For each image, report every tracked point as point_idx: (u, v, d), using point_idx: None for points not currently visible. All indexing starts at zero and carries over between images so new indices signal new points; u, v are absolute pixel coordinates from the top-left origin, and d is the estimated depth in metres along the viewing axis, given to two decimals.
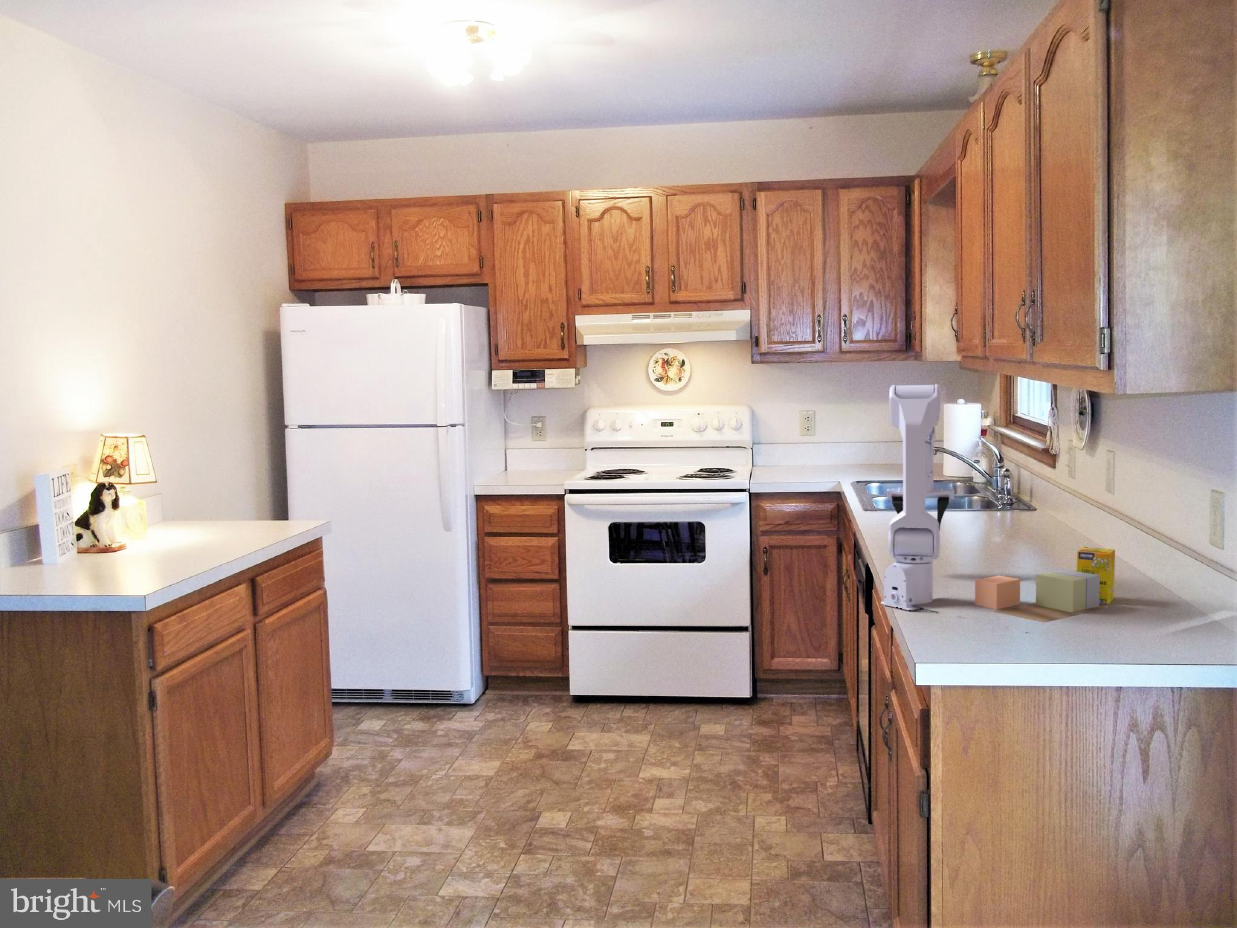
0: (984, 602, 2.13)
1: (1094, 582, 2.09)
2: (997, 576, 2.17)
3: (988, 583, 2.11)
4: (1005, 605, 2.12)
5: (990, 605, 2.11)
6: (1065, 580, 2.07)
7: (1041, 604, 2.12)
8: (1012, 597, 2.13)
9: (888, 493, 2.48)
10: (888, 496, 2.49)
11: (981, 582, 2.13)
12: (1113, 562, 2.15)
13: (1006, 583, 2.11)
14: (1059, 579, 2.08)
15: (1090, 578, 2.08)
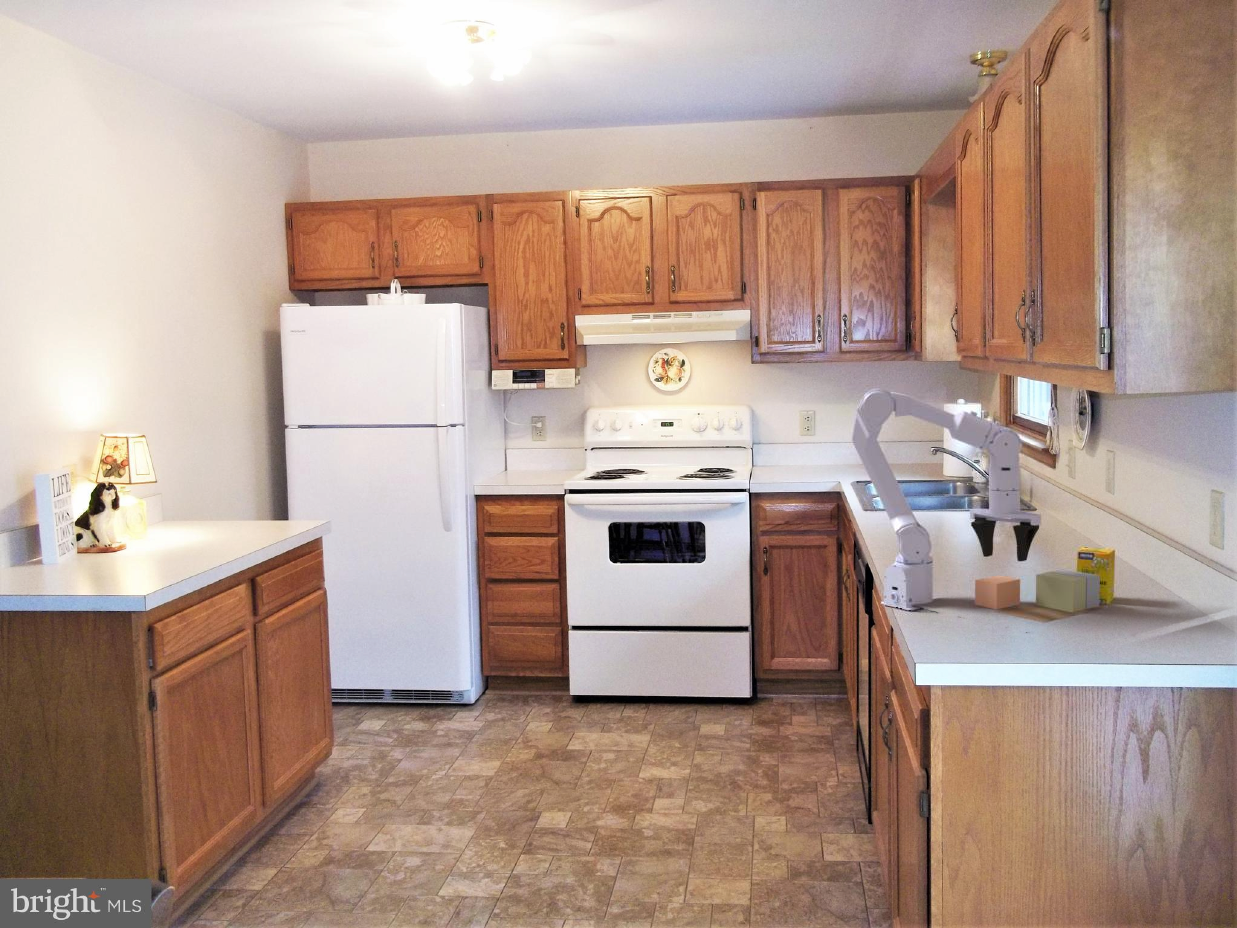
0: (984, 602, 2.13)
1: (1094, 582, 2.09)
2: (997, 576, 2.17)
3: (988, 583, 2.11)
4: (1005, 605, 2.12)
5: (990, 605, 2.11)
6: (1065, 580, 2.07)
7: (1041, 604, 2.12)
8: (1012, 597, 2.13)
9: (971, 512, 2.20)
10: (971, 516, 2.20)
11: (981, 582, 2.13)
12: (1113, 562, 2.15)
13: (1006, 583, 2.11)
14: (1059, 579, 2.08)
15: (1090, 578, 2.08)
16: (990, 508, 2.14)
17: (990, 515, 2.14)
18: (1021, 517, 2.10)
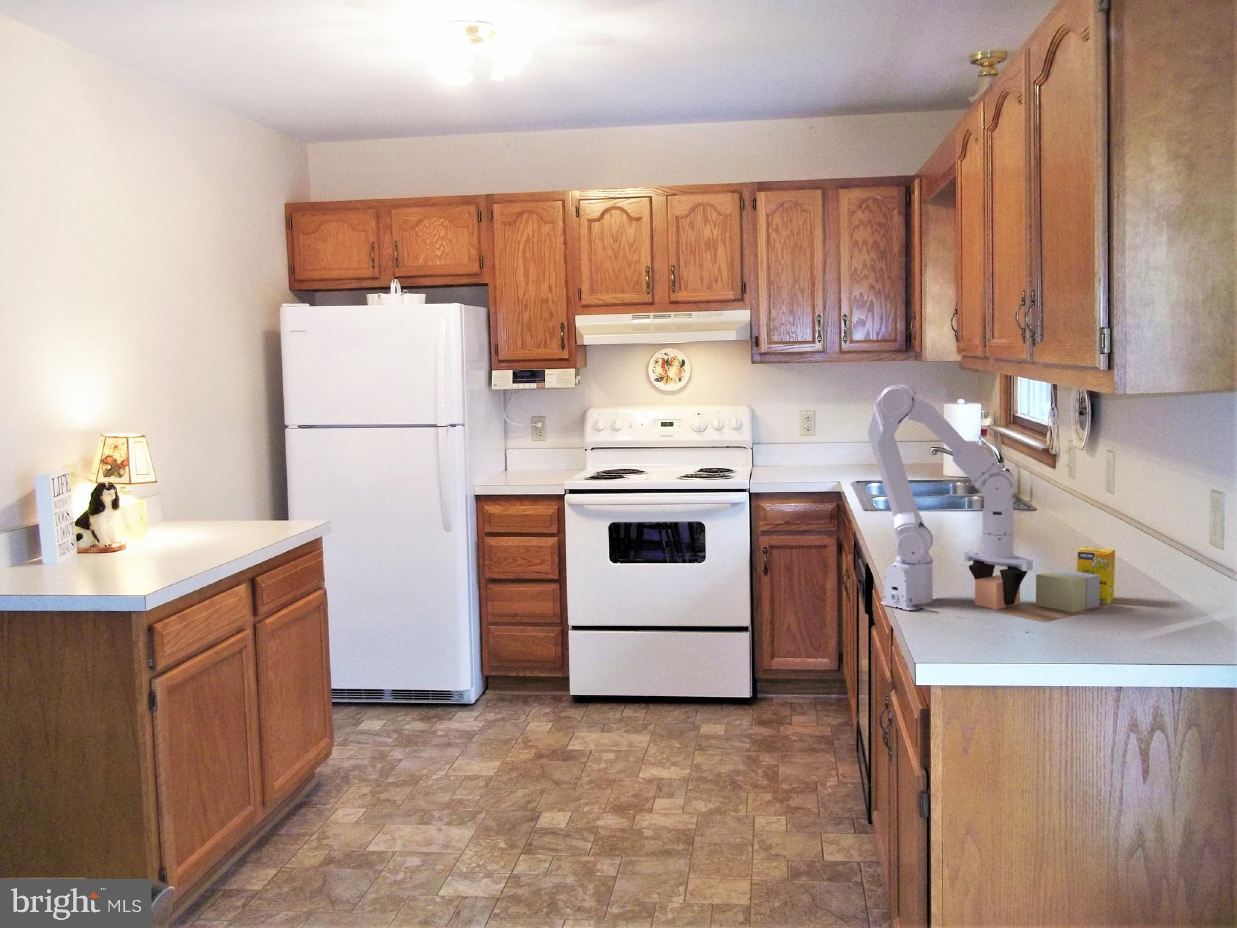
0: (984, 601, 2.13)
1: (1094, 582, 2.09)
2: (997, 575, 2.17)
3: (988, 582, 2.11)
4: None
5: (990, 605, 2.11)
6: (1065, 580, 2.07)
7: (1041, 604, 2.12)
8: None
9: (965, 554, 2.19)
10: (965, 558, 2.19)
11: (981, 582, 2.13)
12: (1113, 562, 2.15)
13: None
14: (1059, 579, 2.08)
15: (1090, 578, 2.08)
16: (983, 551, 2.13)
17: (983, 559, 2.13)
18: (1013, 562, 2.09)
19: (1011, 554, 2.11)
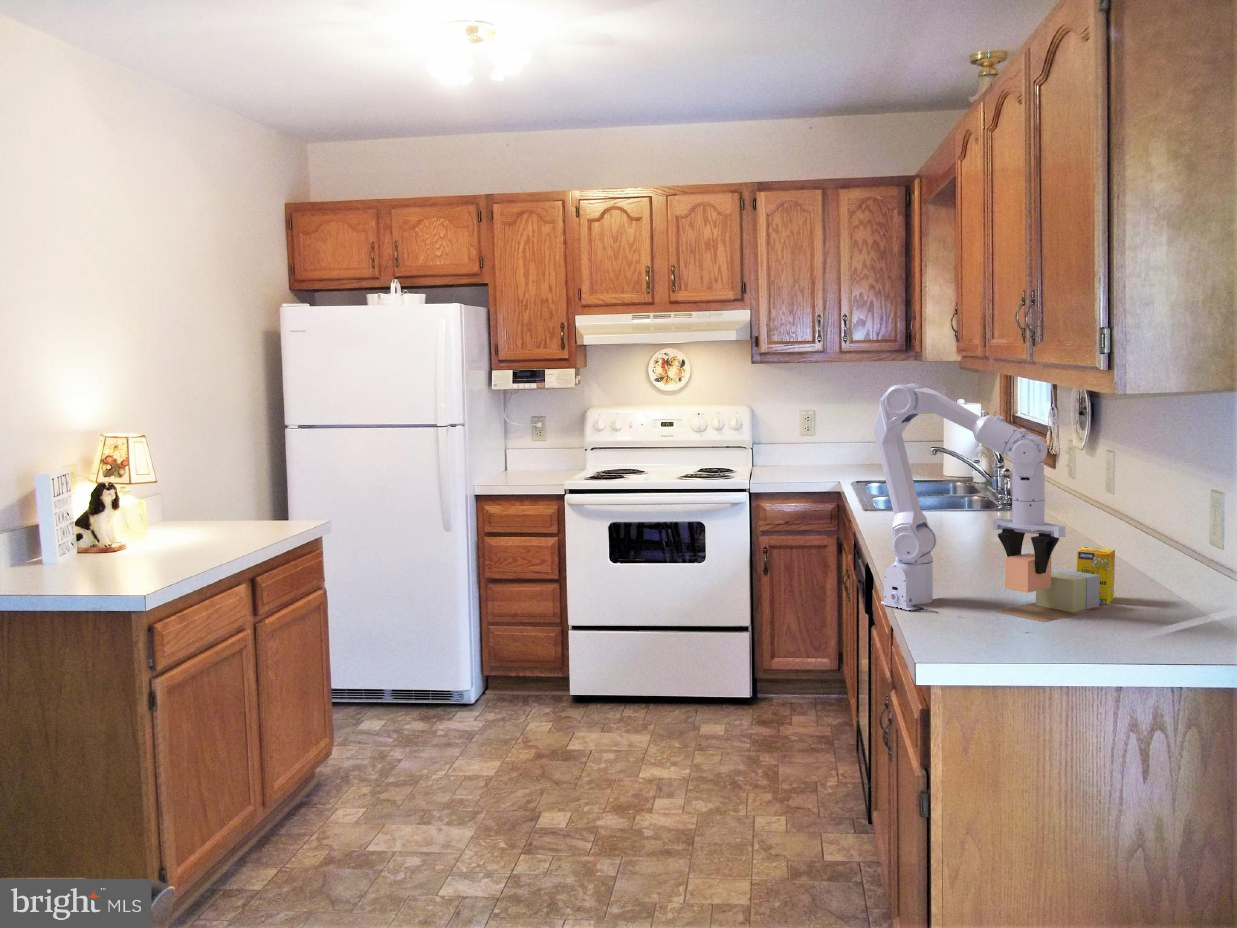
0: (1014, 580, 2.06)
1: (1094, 582, 2.09)
2: (1027, 554, 2.11)
3: (1019, 560, 2.05)
4: (1036, 583, 2.06)
5: (1021, 583, 2.05)
6: (1065, 580, 2.07)
7: (1041, 604, 2.12)
8: (1043, 574, 2.07)
9: (994, 523, 2.12)
10: (994, 526, 2.12)
11: (1011, 559, 2.07)
12: (1113, 562, 2.15)
13: None
14: (1059, 579, 2.08)
15: (1090, 578, 2.08)
16: (1013, 519, 2.07)
17: (1013, 526, 2.07)
18: (1044, 529, 2.02)
19: (1042, 521, 2.05)
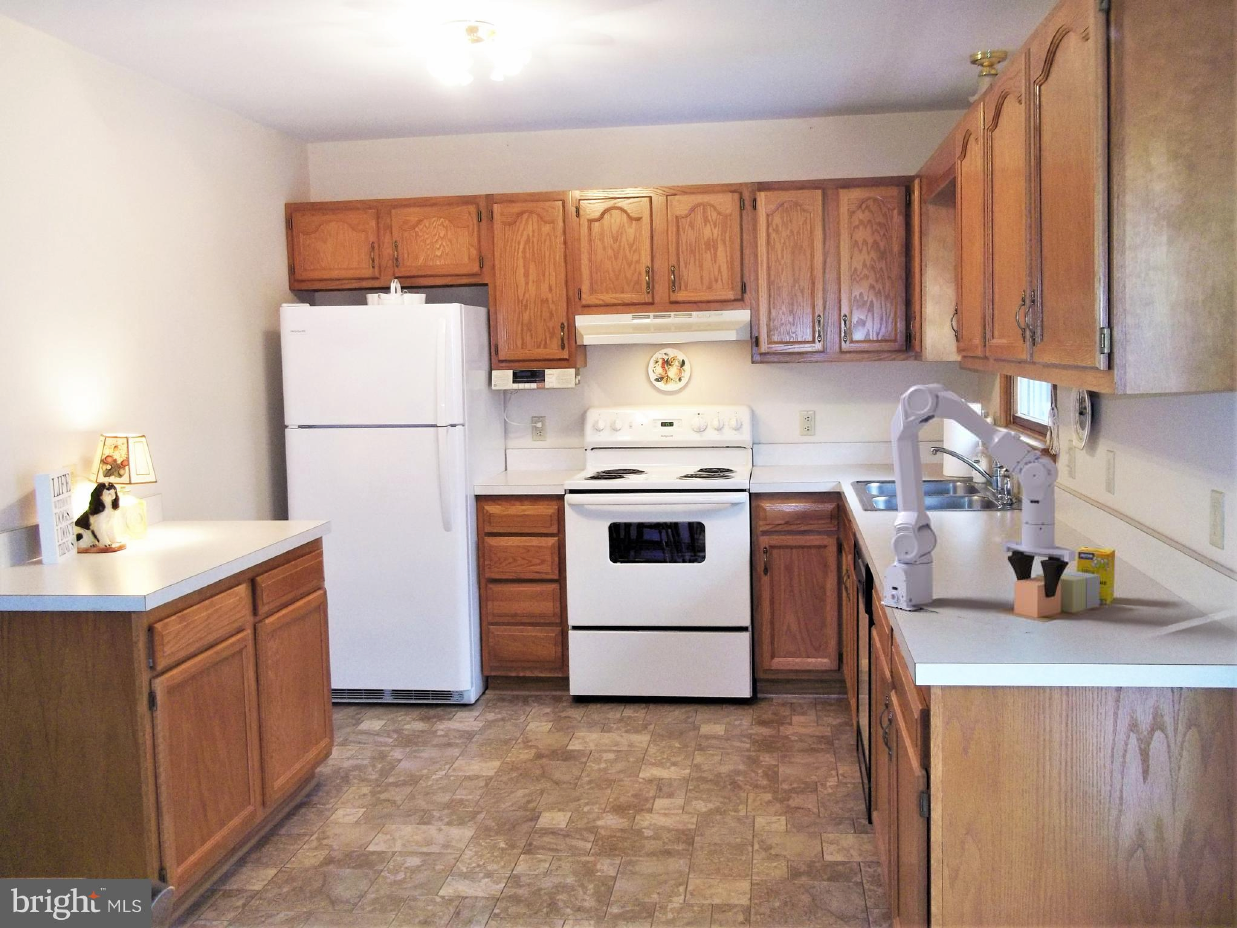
0: (1024, 604, 2.05)
1: (1094, 582, 2.09)
2: (1036, 577, 2.09)
3: (1028, 584, 2.04)
4: (1046, 607, 2.04)
5: (1030, 607, 2.04)
6: (1065, 580, 2.07)
7: None
8: (1053, 599, 2.05)
9: (1003, 545, 2.11)
10: (1003, 549, 2.11)
11: (1021, 583, 2.05)
12: (1113, 562, 2.15)
13: None
14: None
15: (1090, 578, 2.08)
16: (1023, 542, 2.06)
17: (1022, 549, 2.05)
18: (1054, 552, 2.01)
19: (1052, 544, 2.03)
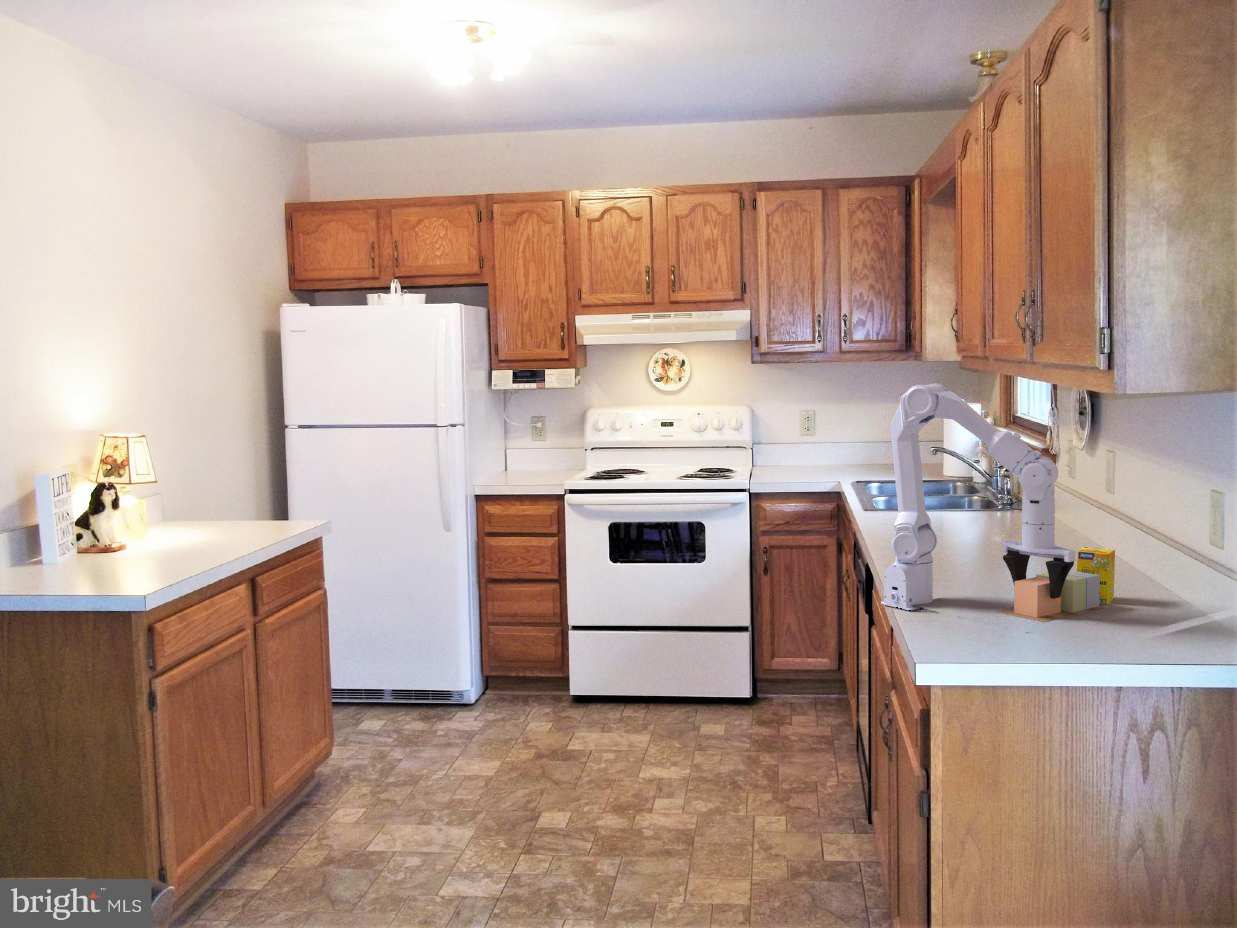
0: (1024, 604, 2.05)
1: (1094, 582, 2.09)
2: (1037, 577, 2.09)
3: (1028, 584, 2.04)
4: (1046, 607, 2.04)
5: (1030, 607, 2.04)
6: (1065, 580, 2.07)
7: None
8: (1053, 599, 2.05)
9: (1003, 545, 2.11)
10: (1003, 549, 2.11)
11: (1021, 583, 2.05)
12: (1113, 562, 2.15)
13: (1047, 584, 2.04)
14: None
15: (1090, 578, 2.08)
16: (1022, 542, 2.06)
17: (1022, 549, 2.05)
18: (1054, 553, 2.01)
19: (1052, 544, 2.03)
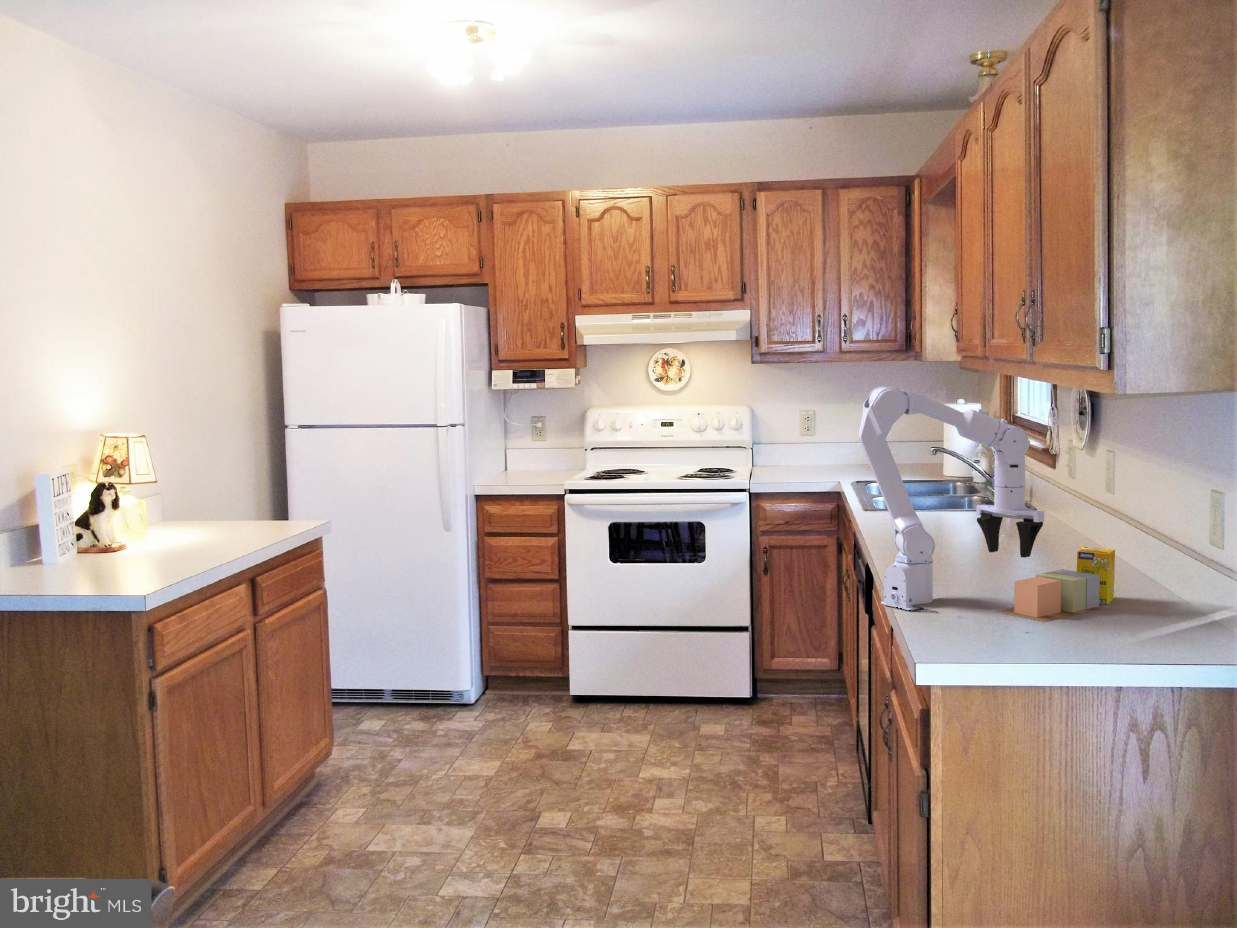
0: (1024, 604, 2.05)
1: (1094, 582, 2.09)
2: (1037, 577, 2.09)
3: (1028, 584, 2.04)
4: (1046, 607, 2.04)
5: (1030, 607, 2.04)
6: (1065, 580, 2.07)
7: None
8: (1053, 599, 2.05)
9: (977, 508, 2.23)
10: (977, 512, 2.23)
11: (1021, 583, 2.05)
12: (1113, 562, 2.15)
13: (1047, 584, 2.04)
14: (1059, 579, 2.08)
15: (1090, 578, 2.08)
16: (995, 504, 2.17)
17: (995, 511, 2.17)
18: (1024, 514, 2.13)
19: (1023, 506, 2.15)
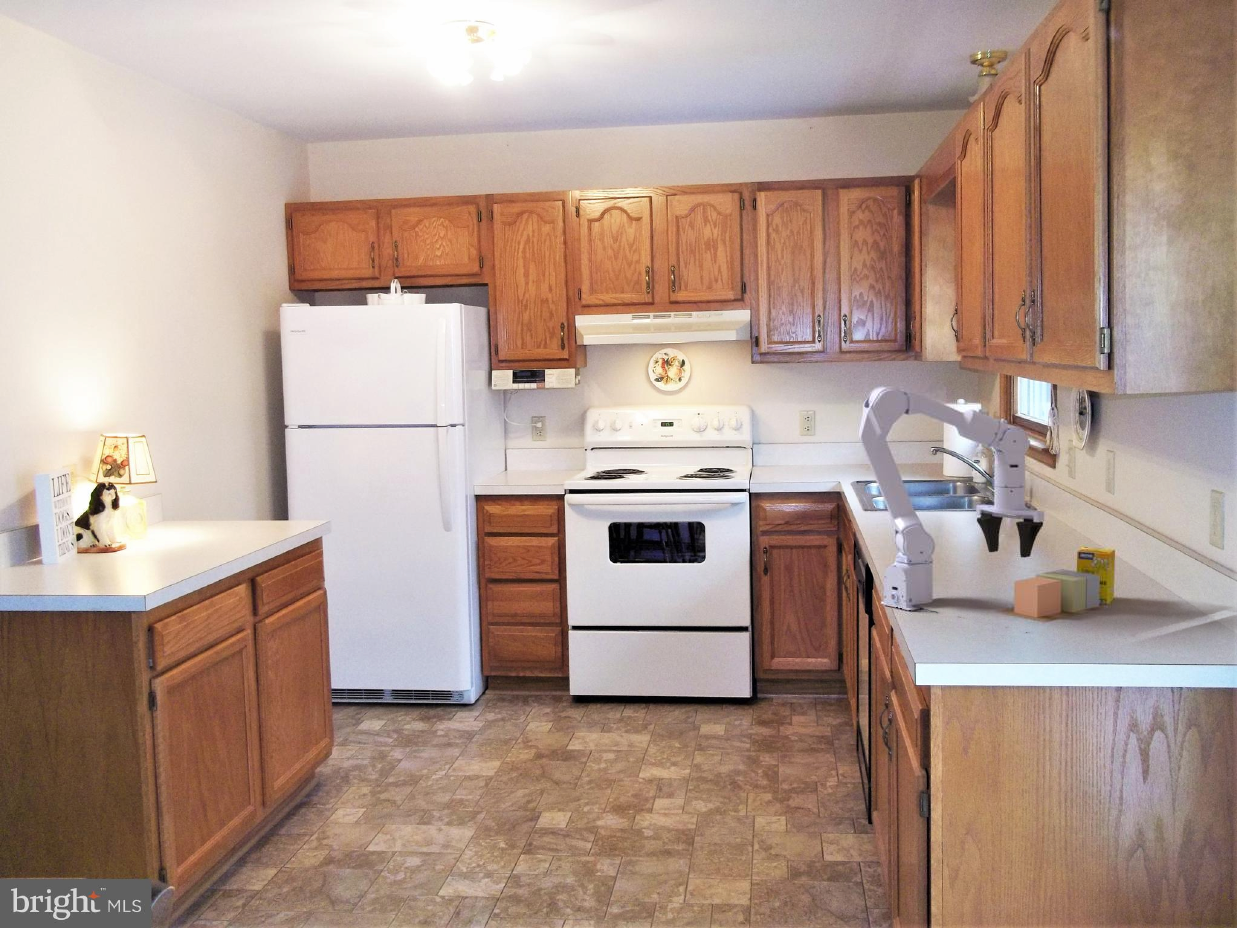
0: (1024, 604, 2.05)
1: (1094, 582, 2.09)
2: (1037, 577, 2.09)
3: (1028, 584, 2.04)
4: (1046, 607, 2.04)
5: (1030, 607, 2.04)
6: (1065, 580, 2.07)
7: None
8: (1053, 599, 2.05)
9: (977, 508, 2.23)
10: (977, 512, 2.23)
11: (1021, 583, 2.05)
12: (1113, 562, 2.15)
13: (1047, 584, 2.04)
14: (1059, 579, 2.08)
15: (1090, 578, 2.08)
16: (995, 504, 2.17)
17: (995, 511, 2.17)
18: (1024, 514, 2.13)
19: (1023, 506, 2.15)
